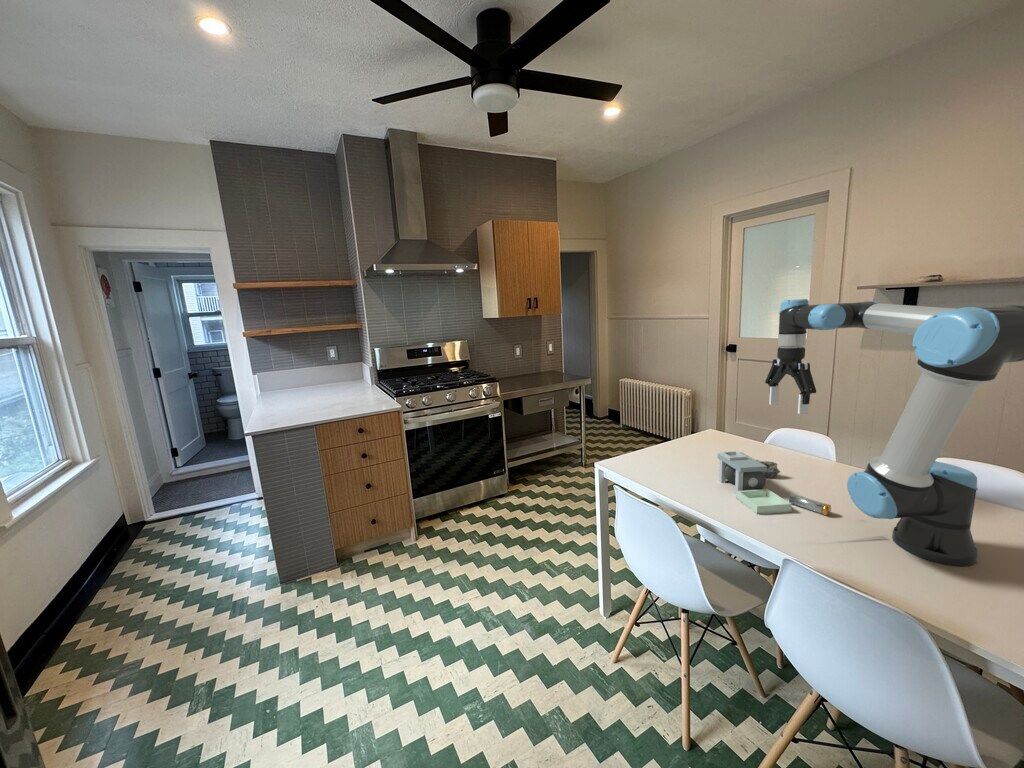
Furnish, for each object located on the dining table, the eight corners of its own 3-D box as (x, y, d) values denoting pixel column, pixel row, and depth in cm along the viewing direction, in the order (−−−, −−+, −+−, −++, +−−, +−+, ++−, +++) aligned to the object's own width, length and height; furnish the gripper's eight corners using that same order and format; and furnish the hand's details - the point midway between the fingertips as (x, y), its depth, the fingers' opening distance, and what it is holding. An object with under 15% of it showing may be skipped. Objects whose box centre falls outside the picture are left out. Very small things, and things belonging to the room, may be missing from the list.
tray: (791, 512, 120) (791, 504, 120) (756, 514, 120) (757, 506, 120) (767, 496, 131) (768, 489, 131) (736, 498, 131) (736, 491, 130)
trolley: (768, 495, 132) (770, 463, 130) (739, 497, 131) (740, 465, 130) (742, 478, 145) (744, 449, 144) (716, 480, 145) (717, 451, 143)
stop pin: (794, 499, 127) (831, 511, 118) (789, 505, 125) (826, 518, 117) (793, 491, 126) (830, 502, 117) (788, 497, 124) (825, 509, 116)
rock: (745, 456, 146) (744, 463, 154) (744, 471, 144) (744, 478, 152) (781, 460, 140) (778, 467, 148) (781, 476, 138) (778, 483, 146)
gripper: (834, 348, 116) (828, 417, 120) (776, 343, 141) (772, 400, 144) (809, 350, 116) (804, 418, 120) (755, 344, 141) (753, 401, 144)
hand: (787, 408), depth 132 cm, fingers open, 13 cm apart
